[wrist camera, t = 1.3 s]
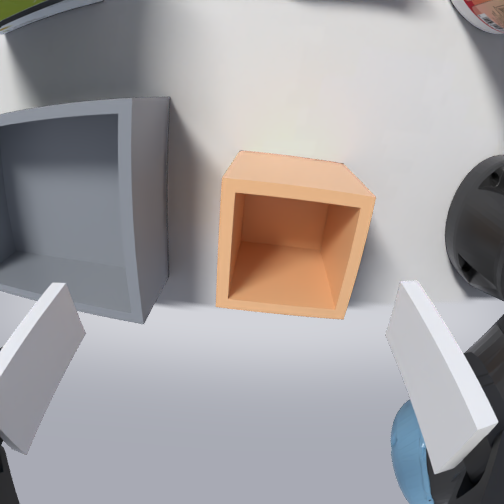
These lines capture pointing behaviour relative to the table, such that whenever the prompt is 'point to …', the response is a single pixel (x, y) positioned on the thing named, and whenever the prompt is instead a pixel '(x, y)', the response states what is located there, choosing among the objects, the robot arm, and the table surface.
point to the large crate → (86, 203)
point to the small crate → (290, 235)
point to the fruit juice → (483, 14)
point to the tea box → (33, 11)
